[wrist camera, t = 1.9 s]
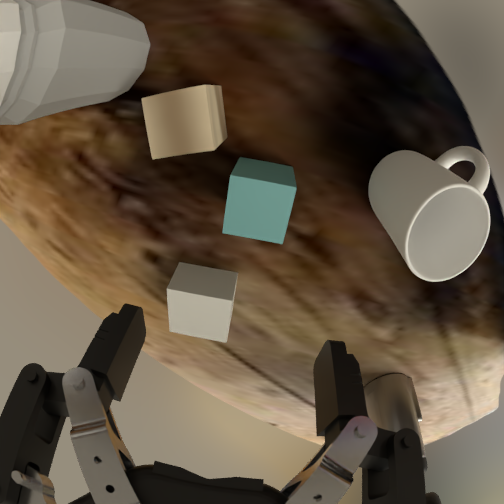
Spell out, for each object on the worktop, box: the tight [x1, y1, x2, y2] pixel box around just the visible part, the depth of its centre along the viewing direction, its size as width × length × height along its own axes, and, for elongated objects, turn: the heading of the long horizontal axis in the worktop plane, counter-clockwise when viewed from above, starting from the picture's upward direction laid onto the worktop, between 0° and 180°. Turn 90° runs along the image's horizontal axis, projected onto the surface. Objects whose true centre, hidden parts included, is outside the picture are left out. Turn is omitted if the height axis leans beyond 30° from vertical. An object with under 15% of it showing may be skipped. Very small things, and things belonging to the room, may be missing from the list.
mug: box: [368, 146, 490, 282], centre depth 20 cm, size 12×8×10 cm
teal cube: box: [223, 157, 297, 244], centre depth 24 cm, size 5×5×6 cm
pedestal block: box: [167, 262, 238, 343], centre depth 33 cm, size 7×7×5 cm
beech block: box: [142, 85, 227, 159], centre depth 21 cm, size 5×5×6 cm
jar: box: [0, 0, 150, 125], centre depth 12 cm, size 10×10×18 cm
